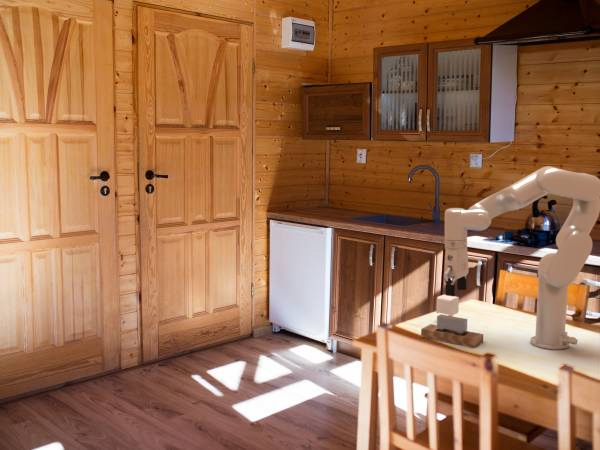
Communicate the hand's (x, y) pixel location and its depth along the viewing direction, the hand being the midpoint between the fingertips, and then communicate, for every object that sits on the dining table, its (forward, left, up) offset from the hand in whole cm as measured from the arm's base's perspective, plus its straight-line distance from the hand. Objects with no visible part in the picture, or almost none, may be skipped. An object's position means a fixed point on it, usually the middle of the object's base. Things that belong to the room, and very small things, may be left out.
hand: (456, 292), depth 240 cm
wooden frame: (+1, 0, -17) cm, 17 cm away
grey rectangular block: (+1, 0, -17) cm, 17 cm away
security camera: (+11, -19, -17) cm, 28 cm away
